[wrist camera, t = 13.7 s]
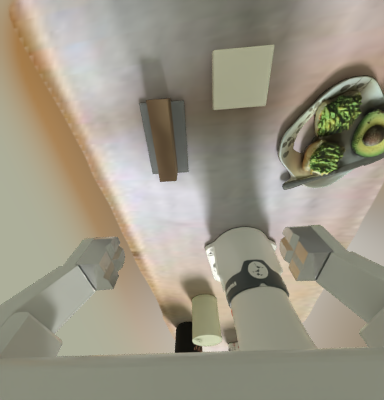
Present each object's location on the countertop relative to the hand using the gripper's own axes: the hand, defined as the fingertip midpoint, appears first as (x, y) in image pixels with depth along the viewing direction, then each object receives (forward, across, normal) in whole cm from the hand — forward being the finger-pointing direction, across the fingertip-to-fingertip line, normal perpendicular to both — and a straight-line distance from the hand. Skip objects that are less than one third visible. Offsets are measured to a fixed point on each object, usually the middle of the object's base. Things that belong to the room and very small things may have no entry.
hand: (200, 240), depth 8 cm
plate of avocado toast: (+26, -25, +2) cm, 36 cm away
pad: (+25, +5, 0) cm, 25 cm away
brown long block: (+24, +5, 0) cm, 25 cm away
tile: (+24, -3, -8) cm, 26 cm away
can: (+26, 0, +57) cm, 63 cm away
